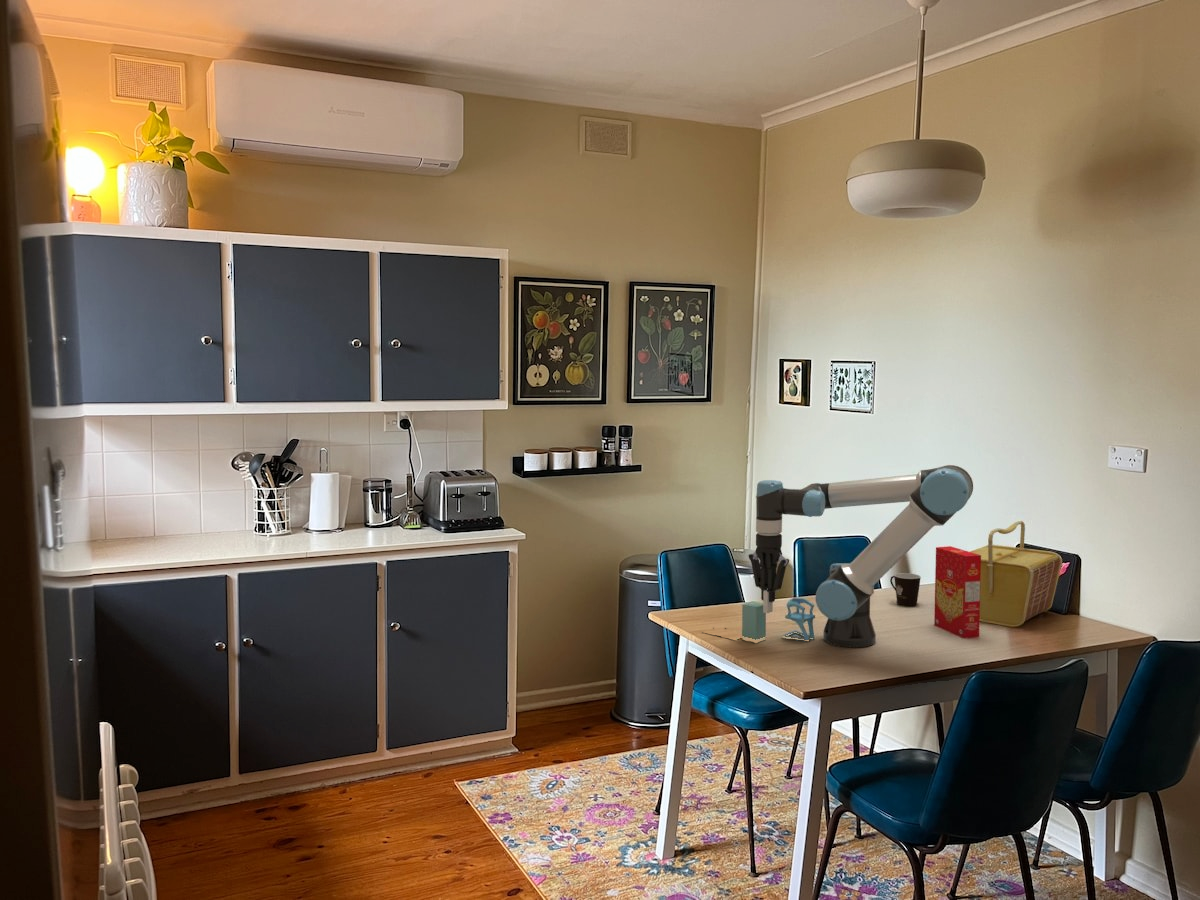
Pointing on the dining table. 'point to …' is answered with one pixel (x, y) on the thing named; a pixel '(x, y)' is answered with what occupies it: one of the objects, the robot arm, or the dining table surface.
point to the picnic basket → (1016, 580)
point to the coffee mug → (906, 589)
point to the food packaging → (957, 591)
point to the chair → (801, 618)
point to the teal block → (753, 620)
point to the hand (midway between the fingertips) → (767, 611)
